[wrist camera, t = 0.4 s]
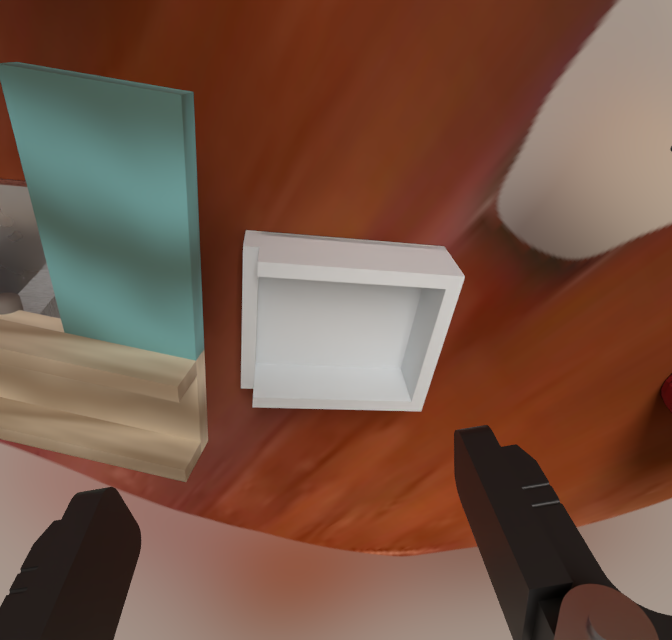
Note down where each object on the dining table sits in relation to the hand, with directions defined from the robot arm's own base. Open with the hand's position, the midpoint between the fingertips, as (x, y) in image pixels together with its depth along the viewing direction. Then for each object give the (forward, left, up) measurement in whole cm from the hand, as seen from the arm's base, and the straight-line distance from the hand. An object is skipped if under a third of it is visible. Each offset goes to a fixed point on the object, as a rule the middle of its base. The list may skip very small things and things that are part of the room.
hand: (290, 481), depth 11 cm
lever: (+3, -14, -17) cm, 22 cm away
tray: (+9, +4, -22) cm, 24 cm away
